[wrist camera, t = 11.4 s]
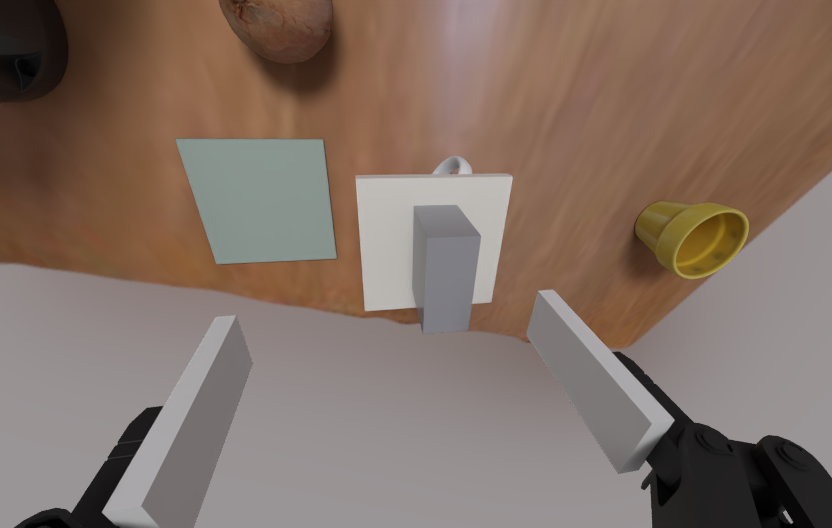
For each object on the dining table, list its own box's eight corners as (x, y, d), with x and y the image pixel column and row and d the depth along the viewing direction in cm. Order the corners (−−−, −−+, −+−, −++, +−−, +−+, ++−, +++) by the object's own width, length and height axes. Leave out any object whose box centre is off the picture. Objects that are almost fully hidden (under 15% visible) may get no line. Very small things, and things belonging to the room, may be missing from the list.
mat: (217, 262, 43) (216, 264, 43) (177, 138, 35) (175, 139, 35) (336, 256, 45) (336, 258, 45) (323, 139, 38) (322, 139, 37)
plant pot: (623, 202, 48) (678, 227, 39) (688, 178, 47) (759, 198, 39) (621, 257, 53) (670, 289, 45) (681, 236, 53) (741, 264, 44)
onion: (261, 28, 34) (174, 14, 26) (285, -80, 29) (185, -142, 21) (331, 85, 35) (267, 88, 27) (368, -11, 29) (303, -44, 21)
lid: (364, 304, 34) (365, 360, 27) (356, 175, 27) (353, 205, 20) (487, 296, 36) (517, 347, 29) (507, 173, 29) (553, 201, 22)
